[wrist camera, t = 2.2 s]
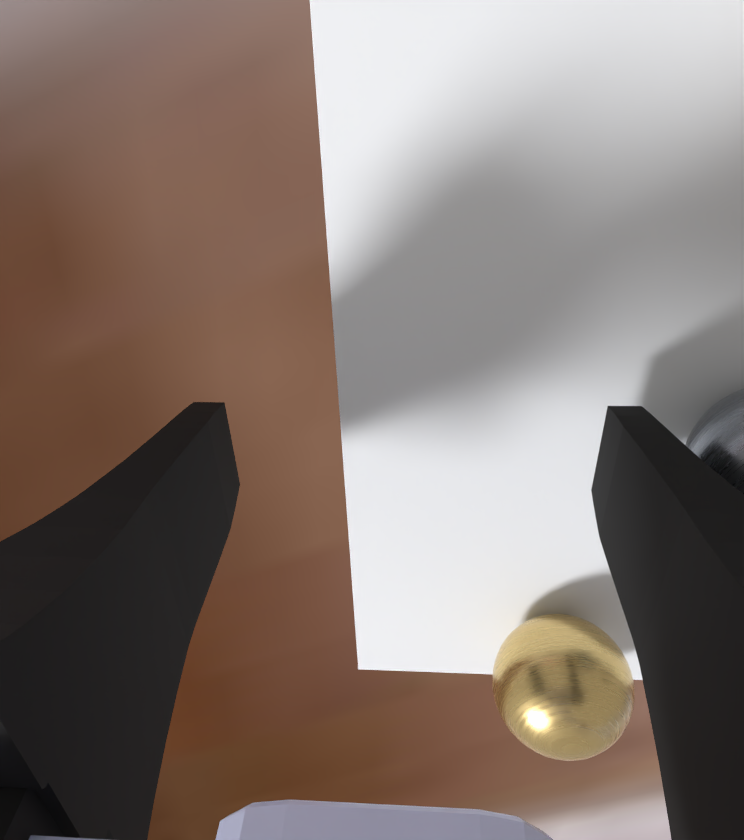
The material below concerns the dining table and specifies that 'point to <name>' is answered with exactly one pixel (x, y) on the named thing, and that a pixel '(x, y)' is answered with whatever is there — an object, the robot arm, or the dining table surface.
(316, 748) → the dining table surface
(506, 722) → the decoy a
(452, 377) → the plate
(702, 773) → the robot arm
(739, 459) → the ball
